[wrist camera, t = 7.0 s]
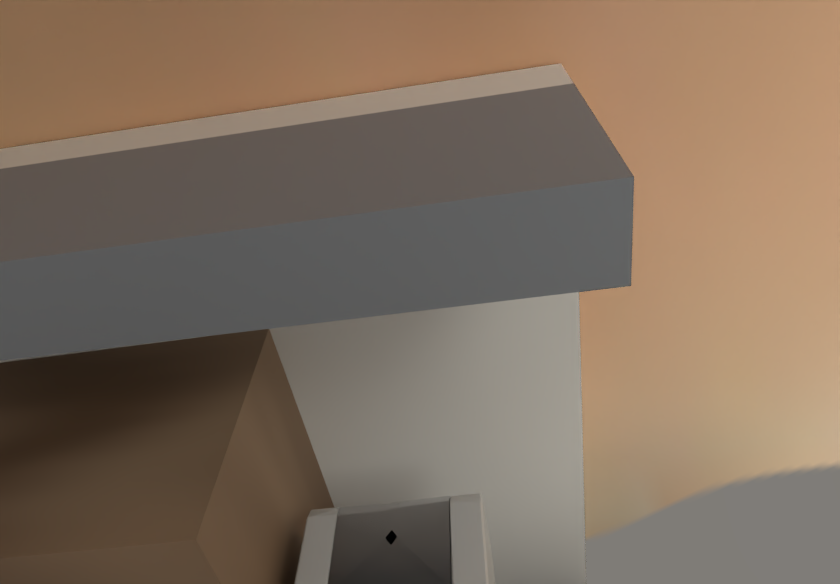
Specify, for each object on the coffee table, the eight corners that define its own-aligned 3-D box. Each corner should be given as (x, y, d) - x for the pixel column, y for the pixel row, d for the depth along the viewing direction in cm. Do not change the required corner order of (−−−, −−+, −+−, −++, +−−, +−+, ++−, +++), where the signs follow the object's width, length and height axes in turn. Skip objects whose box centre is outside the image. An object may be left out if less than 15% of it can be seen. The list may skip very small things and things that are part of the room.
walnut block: (268, 328, 11) (195, 540, 7) (350, 550, 14) (324, 767, 11) (-167, 384, 12) (-410, 597, 8) (6, 581, 15) (-117, 791, 11)
